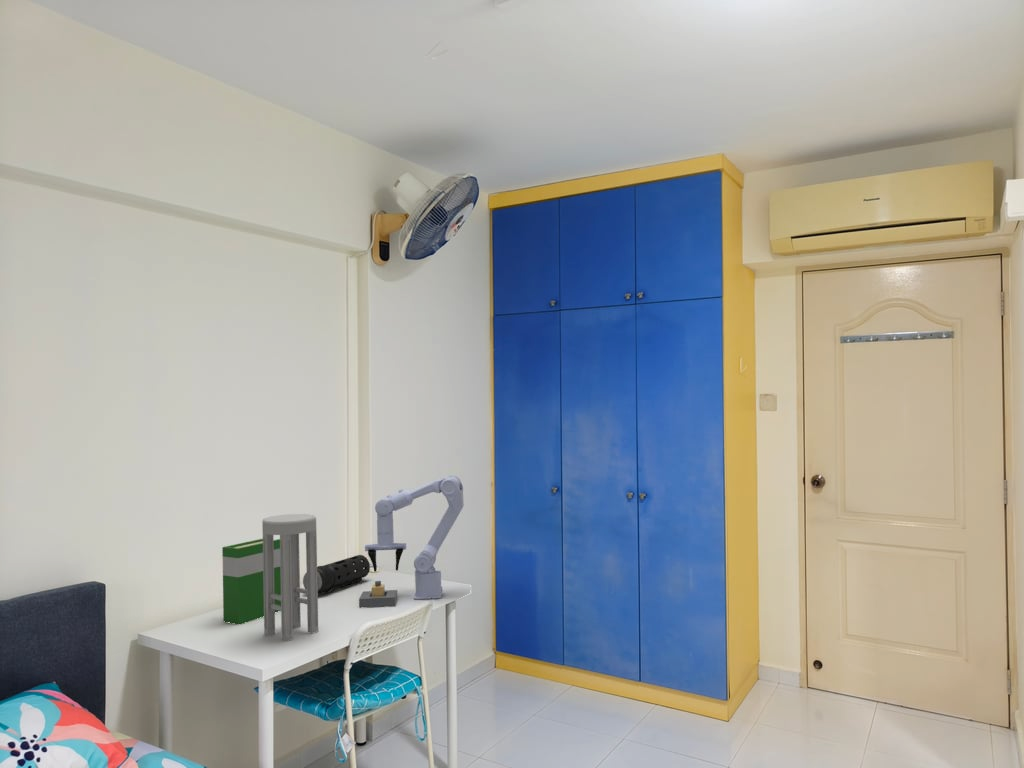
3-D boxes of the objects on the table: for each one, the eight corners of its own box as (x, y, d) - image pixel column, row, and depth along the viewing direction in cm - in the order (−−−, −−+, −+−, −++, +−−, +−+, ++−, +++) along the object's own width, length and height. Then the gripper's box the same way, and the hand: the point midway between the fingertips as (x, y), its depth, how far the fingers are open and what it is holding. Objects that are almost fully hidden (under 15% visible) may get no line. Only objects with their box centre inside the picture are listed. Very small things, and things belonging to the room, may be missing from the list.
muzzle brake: (370, 581, 287) (370, 554, 287) (321, 599, 262) (321, 570, 262) (351, 579, 291) (351, 553, 292) (301, 596, 266) (300, 567, 267)
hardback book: (266, 608, 252) (265, 537, 252) (282, 610, 248) (280, 539, 249) (223, 621, 236) (222, 547, 237) (239, 624, 233) (237, 548, 233)
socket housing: (397, 598, 260) (397, 589, 260) (394, 606, 250) (394, 597, 250) (363, 600, 259) (362, 591, 259) (359, 607, 249) (359, 598, 249)
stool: (298, 622, 233) (296, 512, 234) (328, 631, 224) (325, 515, 225) (254, 635, 221) (252, 518, 222) (283, 644, 212) (281, 523, 213)
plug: (384, 601, 256) (384, 579, 256) (383, 604, 252) (383, 582, 252) (373, 602, 256) (372, 580, 256) (371, 605, 252) (371, 583, 252)
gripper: (363, 535, 258) (364, 573, 258) (404, 533, 259) (405, 571, 259) (365, 531, 265) (366, 569, 265) (406, 530, 266) (407, 567, 266)
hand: (386, 570), depth 263 cm, fingers open, 7 cm apart
